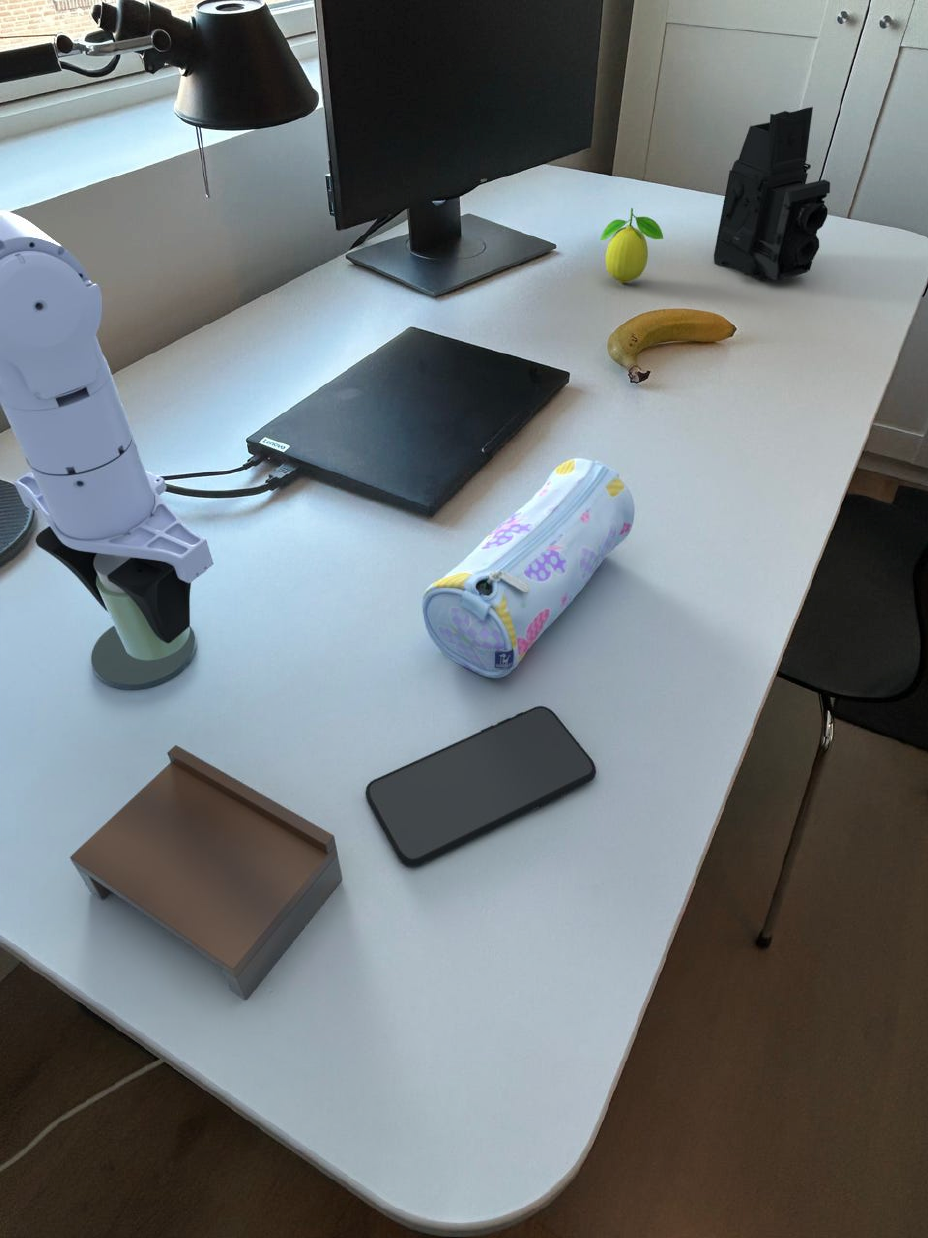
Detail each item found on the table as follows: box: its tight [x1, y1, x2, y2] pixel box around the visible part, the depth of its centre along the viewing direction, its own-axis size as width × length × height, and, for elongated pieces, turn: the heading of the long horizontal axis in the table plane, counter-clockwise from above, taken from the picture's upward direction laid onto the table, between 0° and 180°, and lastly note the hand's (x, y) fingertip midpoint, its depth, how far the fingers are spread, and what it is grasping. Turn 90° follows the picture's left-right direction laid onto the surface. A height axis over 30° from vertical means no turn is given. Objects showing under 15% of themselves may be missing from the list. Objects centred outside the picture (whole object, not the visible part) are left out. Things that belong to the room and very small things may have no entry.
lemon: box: [599, 207, 664, 285], centre depth 117 cm, size 7×6×10 cm
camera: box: [713, 106, 831, 282], centre depth 116 cm, size 10×14×20 cm
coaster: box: [90, 625, 197, 690], centre depth 70 cm, size 8×8×1 cm
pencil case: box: [421, 457, 636, 679], centre depth 71 cm, size 21×9×10 cm, turn 145°
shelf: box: [69, 744, 343, 1001], centre depth 53 cm, size 9×13×5 cm
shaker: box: [93, 553, 190, 660], centre depth 57 cm, size 4×4×7 cm
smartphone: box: [365, 705, 597, 868], centre depth 60 cm, size 7×1×15 cm
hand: (149, 619), depth 58 cm, fingers closed on shaker, 4 cm apart
